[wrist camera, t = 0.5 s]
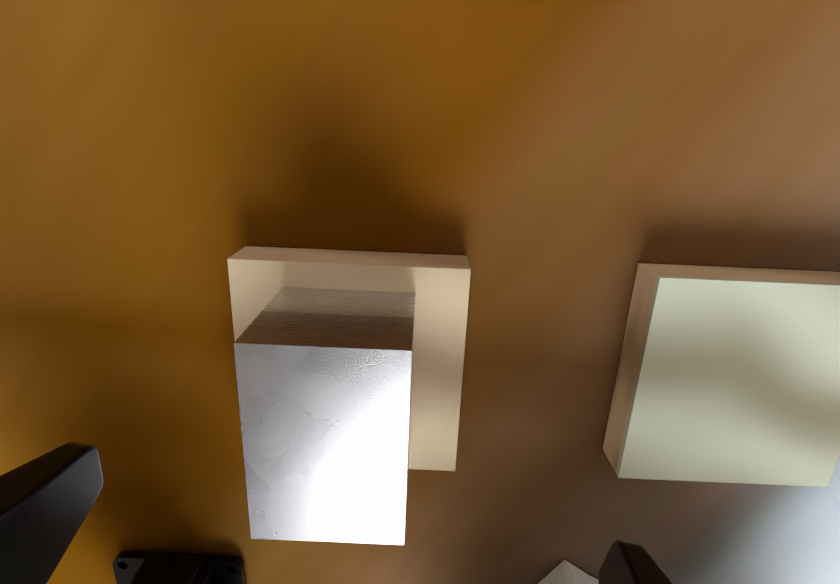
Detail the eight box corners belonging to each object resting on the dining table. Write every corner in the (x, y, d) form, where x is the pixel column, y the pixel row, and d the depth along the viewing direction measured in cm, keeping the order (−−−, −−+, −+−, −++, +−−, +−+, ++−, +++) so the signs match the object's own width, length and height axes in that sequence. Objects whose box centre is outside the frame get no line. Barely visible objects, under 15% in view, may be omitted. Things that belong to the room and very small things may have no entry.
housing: (409, 449, 21) (404, 545, 16) (290, 444, 21) (251, 538, 16) (415, 292, 19) (411, 350, 14) (282, 286, 19) (233, 343, 14)
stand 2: (795, 457, 23) (827, 487, 21) (602, 449, 23) (618, 477, 21) (858, 272, 20) (903, 288, 18) (638, 263, 20) (660, 277, 18)
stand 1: (452, 442, 23) (455, 471, 21) (260, 433, 23) (245, 461, 21) (466, 255, 20) (470, 269, 18) (246, 246, 20) (227, 258, 18)
